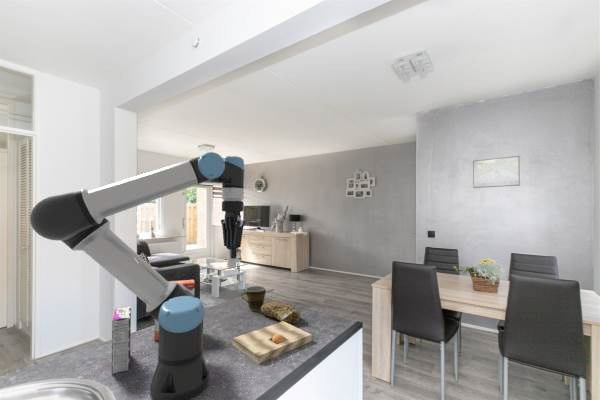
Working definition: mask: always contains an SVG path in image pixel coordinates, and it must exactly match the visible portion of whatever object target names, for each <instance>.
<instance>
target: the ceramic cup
mask: <svg viewBox="0 0 600 400" xmlns="http://www.w3.org/2000/svg"><path fill="white" fill-rule="evenodd" d="M266 292H267V288H266V287H265V286H260V285H259V286H256V285H255V286H249V287H246V288H245V291H244V292H242V293H241V295H240V296H241V299H243V300H244V301H245V302H246V303H247V305H248V310H249V311H251V312H259V311H261V307H262V305H263V304H265V303H264V301H265V297H266ZM244 294H245V295H246V298H244V297H243V295H244Z"/></svg>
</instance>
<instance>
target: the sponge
mask: <svg viewBox="0 0 600 400" xmlns="http://www.w3.org/2000/svg"><path fill="white" fill-rule="evenodd" d="M260 311H261V313H262V314H264V315H265V316H267V317H269V318H274V319H277V320H278V321H279V322H282V321H284V322H286V323H288V324H290V325H292V324H297V323H298V322H299V321H300V319H301V313H300V311H299V310H298V309H297V308H295V306H292V305H290V304H287V303H284V302H280V301H275V300H274V301H270V300H269V301H267V302H265V303H263V305H262V307H261V310H260Z"/></svg>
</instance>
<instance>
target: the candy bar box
mask: <svg viewBox="0 0 600 400" xmlns="http://www.w3.org/2000/svg"><path fill="white" fill-rule="evenodd" d="M111 320H112V323H111V324H112V328H111V329H112V331H111V336H112V337H111V339H112V340H111V375H116V374H119V373H123V372H124V373H125V372H128V371H130V369H131V345H132V344H131V338H132V337H131V336H132V333H131V332H132V331H131V330H132V329H131V328H132V306H125V307H118V308H114V312H113V316H112V319H111Z"/></svg>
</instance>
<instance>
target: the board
mask: <svg viewBox="0 0 600 400" xmlns="http://www.w3.org/2000/svg"><path fill="white" fill-rule="evenodd" d="M276 334H280V335H281V336H282V337H283V342H282V343H280V344H275V343H274V342H272V338H273V336H274V335H276ZM312 336H313V335H312V334H311V333H309V332H307V331H305V330H304V329H300V328H298V327H296V326H294V325H293V324H288V323H286V322H284V321H282V322H281V321H279V322H277V323H274V324H271V325H268V326H265V327H262V328H259V329H256V330H252V331H250V332H248V333H243V334H240V335H239V336H236V337H232V343H231V345H232V346H233V347H235V348H236V349H237V350H238V351H240V352H241V353H243V354H244V355H245V356H247V357H248V358H249V359H251V360H252V361H254V362H255V363H256V364H258V365H260V364H262V363H264V362H266V361H269V360H271V359H273V358H276V357H279V356H281V355H283V354H285V353H288V352H289V351H292V350H295V349H297V348H298V347H301V346H304V345H306V344H308V343H310V342H312V339H313V338H312Z"/></svg>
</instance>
